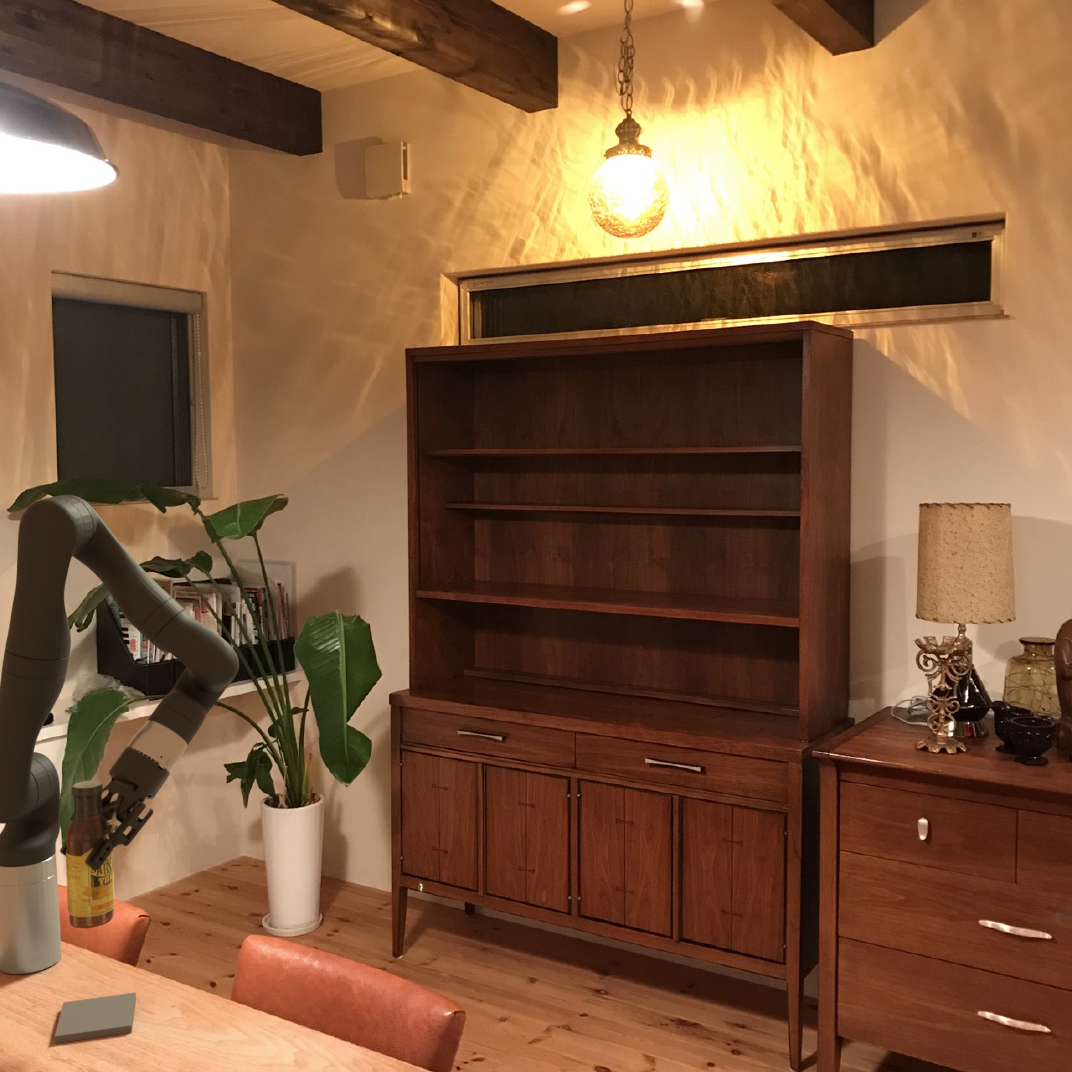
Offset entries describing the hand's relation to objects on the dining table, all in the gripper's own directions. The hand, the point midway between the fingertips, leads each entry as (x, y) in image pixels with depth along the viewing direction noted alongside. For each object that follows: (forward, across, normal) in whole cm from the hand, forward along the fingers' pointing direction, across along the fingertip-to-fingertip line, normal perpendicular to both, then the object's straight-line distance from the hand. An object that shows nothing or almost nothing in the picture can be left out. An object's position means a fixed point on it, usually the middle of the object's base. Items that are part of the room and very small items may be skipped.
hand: (78, 860), depth 163 cm
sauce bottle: (+6, 0, +8) cm, 10 cm away
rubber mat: (+16, 0, +18) cm, 24 cm away
